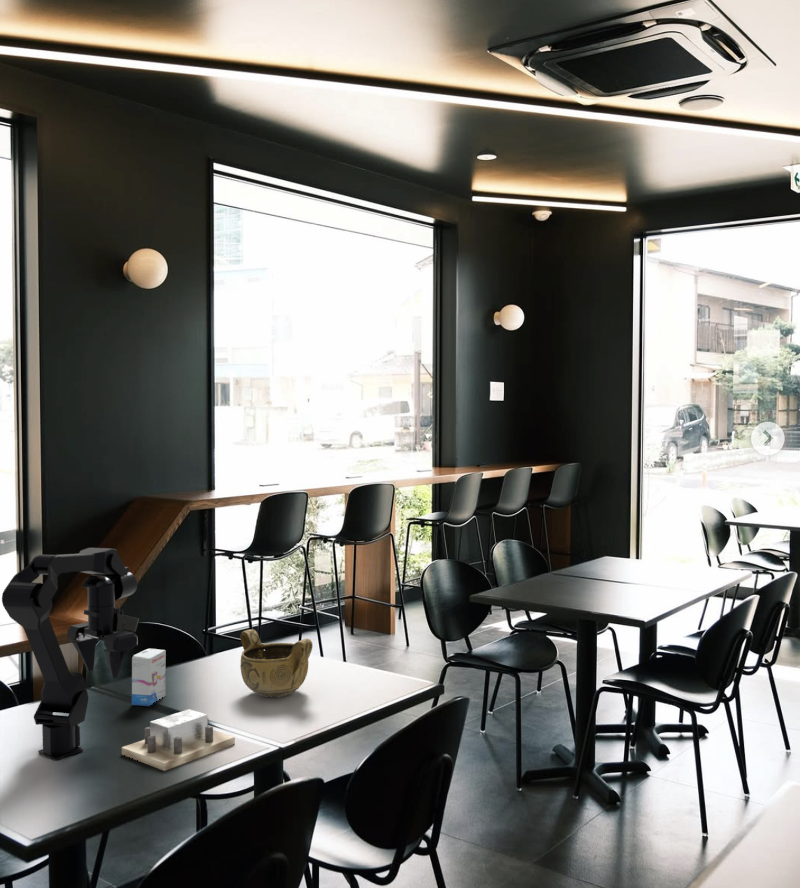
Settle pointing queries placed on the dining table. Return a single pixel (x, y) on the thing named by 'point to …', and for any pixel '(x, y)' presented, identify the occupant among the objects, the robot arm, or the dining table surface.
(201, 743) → the pin tray
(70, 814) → the dining table surface
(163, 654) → the ink box
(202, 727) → the block
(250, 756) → the dining table surface
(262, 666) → the ceramic bowl
